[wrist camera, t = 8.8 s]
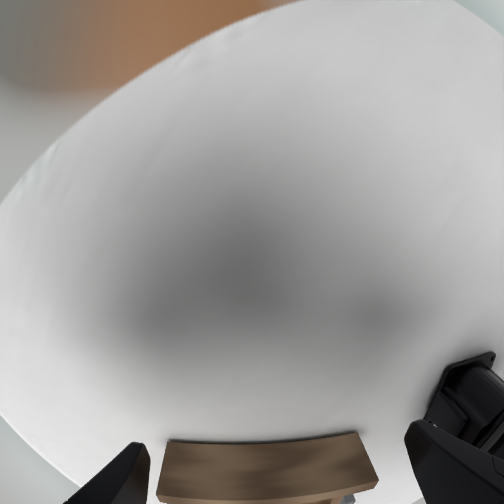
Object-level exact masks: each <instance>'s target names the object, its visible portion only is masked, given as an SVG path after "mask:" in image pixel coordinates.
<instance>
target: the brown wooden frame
mask: <svg viewBox="0 0 504 504" xmlns="http://www.w3.org/2000/svg"><path fill="white" fill-rule="evenodd" d="M378 481H379V479H378V477H377V474H376V472H375V470H374V468H373V465H372V463H371V461H370V459H369V456H368V454H367V452H366V450H365V448H364V445H363V443H362V441H361V439H360V437H359V434H358V432H357V433H351V434H346V435H341V436H335V437H328V438H321V439H314V440H306V441H297V442H286V443H273V444H251V445H213V444H192V443H179V442H168V441H167V446H166V450H165V454H164V459H163V463H162V468H161V473H160V477H159V482H158V487H157V491H156V496H157V497H158V499H159V501H160V502H163V503H171V504H339V503H340V501H341V499H342V498H343V496H346V495H350V494H354V493H358V492H362V491H366V490H370V489H373V488H374V487H375V486H376V484H377V483H378Z"/></svg>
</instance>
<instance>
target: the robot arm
mask: <svg viewBox="0 0 504 504" xmlns="http://www.w3.org/2000/svg"><path fill="white" fill-rule="evenodd" d="M495 357H496V354H495V353H494V352H490V353H487V354H484V355H481V356H478V357H475V358H473V359H470V360H467V361H463V362H460V363H457V364H454V365H451V366H449V367H448V368H447V369H446V370H445V372H444V375H443V377H442V380H441V382H440V385H439V387H438V390H437V392H436V395H435V397H434V399H433V402H432V404H431V406H430V408H429V411H428V413H427V415H426V417H425V419H424V420H422V419H419V420H416V421H413V422H412V423H411V424H410V426H409V428H408V430H407V432H406V434H405V437H404V442H405V445H406V448H407V452H408V455H409V458H410V462H411V465H412V469H413V472H414V475H415V477H416V479H417V482H418V484H419V487H420V489H421V491H422V494H423V496H424V499H425V501H426V504H504V381H503V380H502V379H501V378H500V377H499V376H498V375H497V374H495V373H494V372H493V371H492V370H491V367H492V365H493V362H494V360H495ZM434 424H435V425H436V426H437V427H436V426H434ZM149 472H150V456H149V454H148V451H147V449H146V446H145V445H144V444H143V443H138V442H131V443H130V444H129V445H128V446H127V447H126V448H125V449H124V450H123V451H121V452H120V453H119V454H118V455H117V456H116V457H115V458H114V459H113V460H112V461H111V462H110V463H109V464H107V465H106V466H105V467H104V468H103V469H102V470H101V471H100V472H99V473H98V474H96V475H95V476H94V477H93V478H92V479H91V480H90V481H89V482H87V483H86V484H85V485H84V486H83V487H82V488H81V489H79V490H78V491H77V492H76V493H75V494H74V495H72V496H71V497H70V498H69V499H68V501H65V502H64V503H63V504H146V501H147V494H148V482H149Z"/></svg>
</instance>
